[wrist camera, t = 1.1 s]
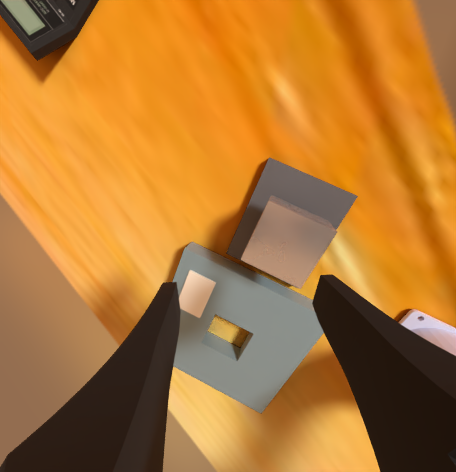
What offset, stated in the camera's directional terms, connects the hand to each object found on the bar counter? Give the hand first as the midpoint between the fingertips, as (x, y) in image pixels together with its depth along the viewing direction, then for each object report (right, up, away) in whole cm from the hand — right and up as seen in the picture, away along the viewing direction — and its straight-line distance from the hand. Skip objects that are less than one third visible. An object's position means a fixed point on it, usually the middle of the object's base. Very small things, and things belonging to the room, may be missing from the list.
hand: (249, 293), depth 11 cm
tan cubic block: (+4, +4, +9) cm, 11 cm away
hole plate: (-1, -8, +16) cm, 18 cm away
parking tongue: (+4, +4, +10) cm, 12 cm away
